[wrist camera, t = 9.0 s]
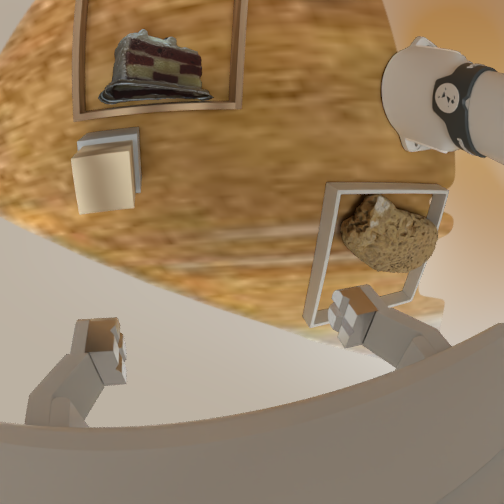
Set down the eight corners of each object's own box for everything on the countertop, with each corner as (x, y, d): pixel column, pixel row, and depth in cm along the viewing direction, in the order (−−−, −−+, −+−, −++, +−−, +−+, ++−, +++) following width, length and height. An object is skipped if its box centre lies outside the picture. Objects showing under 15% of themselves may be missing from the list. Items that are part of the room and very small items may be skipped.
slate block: (138, 126, 31) (136, 133, 27) (141, 177, 34) (140, 192, 30) (86, 133, 29) (77, 141, 25) (91, 183, 32) (84, 199, 28)
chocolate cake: (221, 42, 29) (147, 3, 18) (219, 99, 31) (139, 75, 20) (156, 60, 33) (81, 38, 22) (154, 111, 35) (73, 101, 24)
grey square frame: (437, 184, 48) (449, 190, 46) (403, 292, 61) (411, 301, 58) (326, 182, 42) (337, 190, 39) (302, 316, 54) (309, 327, 52)
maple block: (132, 139, 27) (129, 150, 23) (135, 188, 29) (134, 207, 25) (82, 146, 26) (71, 158, 21) (88, 194, 28) (79, 214, 24)
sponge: (323, 235, 48) (396, 289, 55) (348, 249, 41) (423, 305, 47) (365, 166, 47) (430, 230, 53) (395, 168, 39) (459, 240, 46)
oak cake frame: (242, -30, 24) (250, -38, 21) (234, 106, 33) (241, 109, 30) (85, -25, 19) (80, -33, 17) (79, 118, 28) (73, 121, 26)
